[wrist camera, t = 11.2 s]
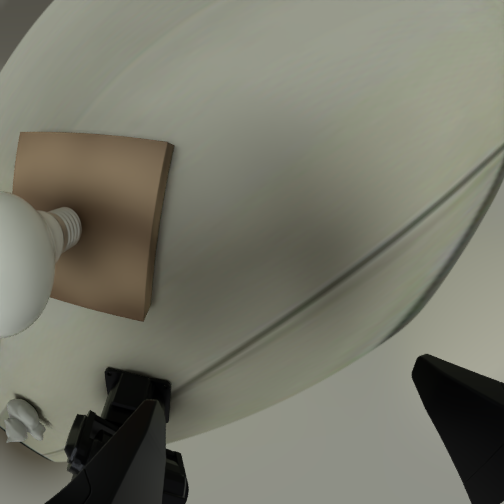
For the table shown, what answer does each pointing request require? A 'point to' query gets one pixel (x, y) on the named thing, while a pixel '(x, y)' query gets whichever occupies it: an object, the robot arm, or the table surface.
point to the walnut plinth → (100, 212)
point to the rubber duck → (22, 421)
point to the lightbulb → (30, 258)
